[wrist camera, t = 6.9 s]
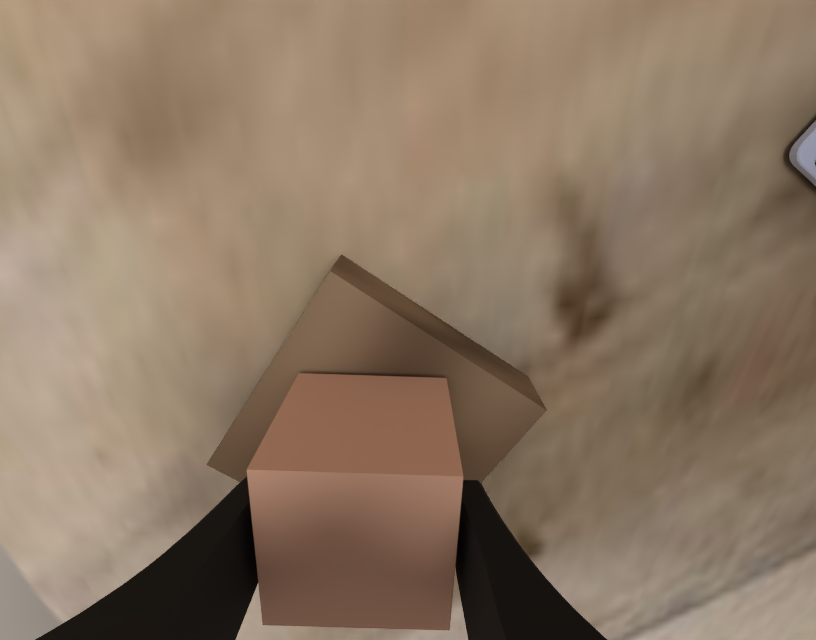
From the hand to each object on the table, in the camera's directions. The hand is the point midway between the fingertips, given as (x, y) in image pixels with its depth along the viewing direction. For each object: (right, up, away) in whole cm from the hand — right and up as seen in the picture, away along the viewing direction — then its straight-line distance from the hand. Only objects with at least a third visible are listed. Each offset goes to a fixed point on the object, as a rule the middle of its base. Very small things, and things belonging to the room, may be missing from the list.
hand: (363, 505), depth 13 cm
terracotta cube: (0, +1, +3) cm, 3 cm away
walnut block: (0, +2, +6) cm, 6 cm away
